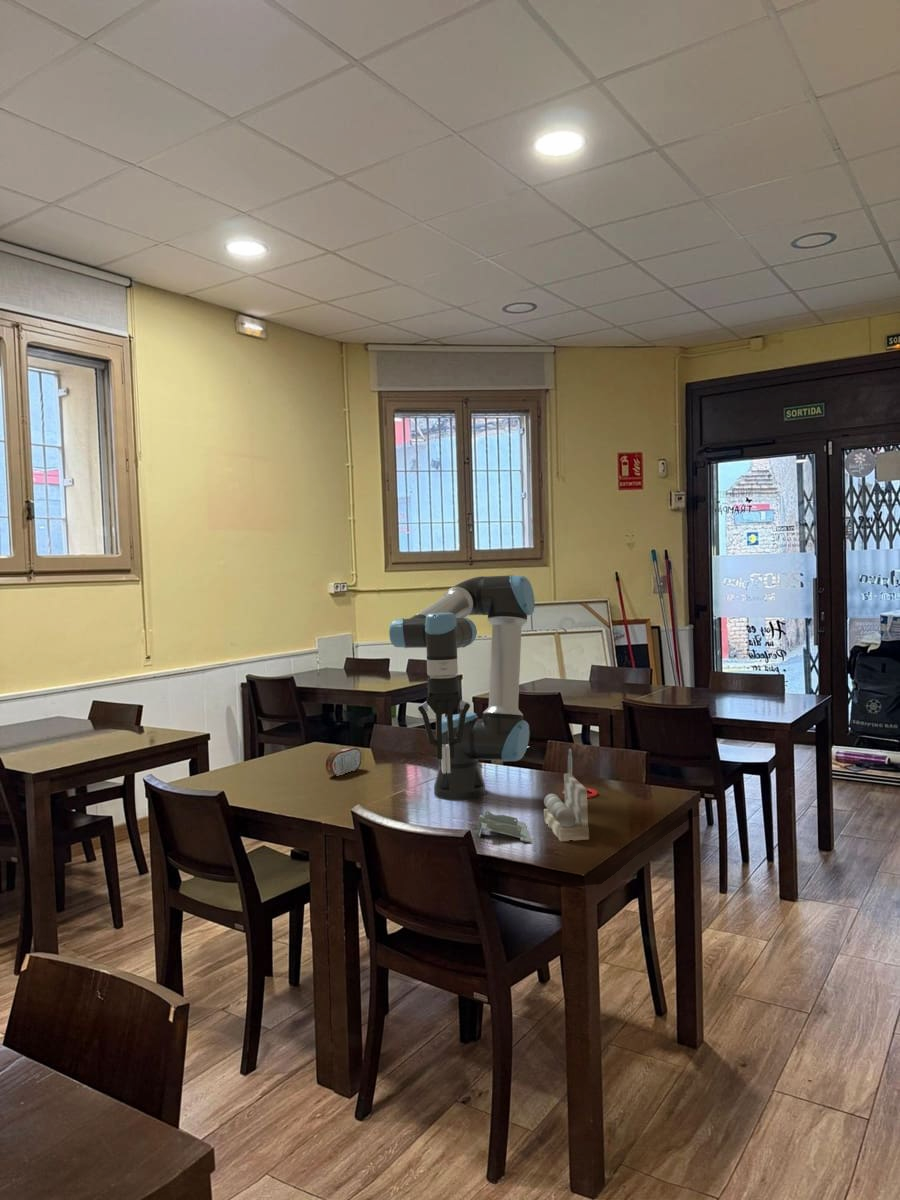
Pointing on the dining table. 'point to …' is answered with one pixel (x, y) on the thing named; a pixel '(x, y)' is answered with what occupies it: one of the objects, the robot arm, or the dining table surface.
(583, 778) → the dining table surface
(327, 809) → the dining table surface
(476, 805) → the dining table surface
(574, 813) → the hinge seat
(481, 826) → the metal bracket
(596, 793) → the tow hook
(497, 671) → the robot arm
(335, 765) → the tin
